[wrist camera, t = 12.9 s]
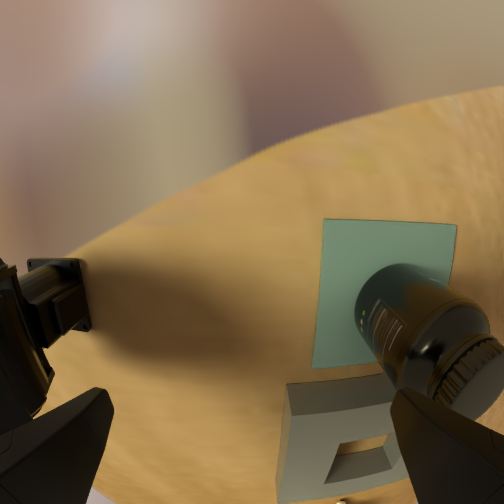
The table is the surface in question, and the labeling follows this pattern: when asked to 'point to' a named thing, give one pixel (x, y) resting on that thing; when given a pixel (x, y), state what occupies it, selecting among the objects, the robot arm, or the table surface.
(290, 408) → the pocket holder
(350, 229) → the mat
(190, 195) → the table surface
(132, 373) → the table surface
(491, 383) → the supplement bottle
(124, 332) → the table surface
